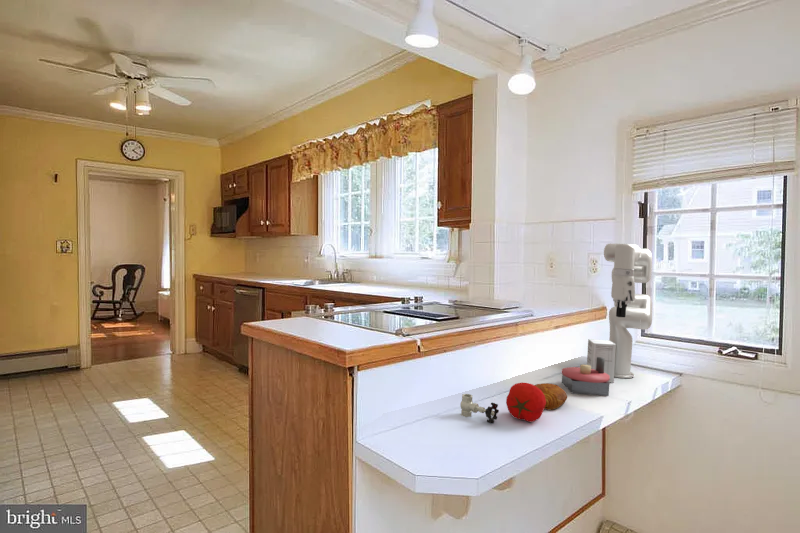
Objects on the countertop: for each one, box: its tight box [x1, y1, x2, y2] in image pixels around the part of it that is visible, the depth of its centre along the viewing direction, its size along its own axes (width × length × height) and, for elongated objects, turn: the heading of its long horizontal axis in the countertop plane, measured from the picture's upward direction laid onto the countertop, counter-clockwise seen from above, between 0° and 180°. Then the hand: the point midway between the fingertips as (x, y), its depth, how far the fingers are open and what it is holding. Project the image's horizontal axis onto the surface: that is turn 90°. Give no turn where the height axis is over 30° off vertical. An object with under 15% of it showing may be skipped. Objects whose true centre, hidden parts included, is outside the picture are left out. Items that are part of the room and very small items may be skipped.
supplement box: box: [586, 338, 616, 384], centre depth 198 cm, size 10×9×17 cm
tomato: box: [505, 382, 546, 423], centre depth 147 cm, size 13×13×13 cm
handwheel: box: [561, 357, 610, 383], centre depth 182 cm, size 18×18×7 cm
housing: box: [561, 374, 610, 397], centre depth 182 cm, size 14×14×5 cm
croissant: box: [534, 382, 568, 411], centre depth 164 cm, size 14×16×8 cm
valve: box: [460, 393, 499, 425], centre depth 145 cm, size 7×7×12 cm
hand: (620, 316), depth 189 cm, fingers closed
